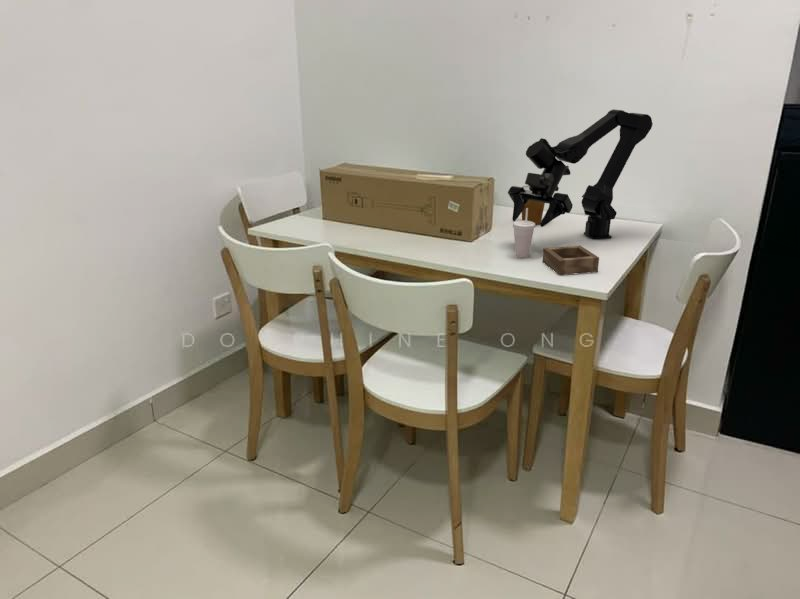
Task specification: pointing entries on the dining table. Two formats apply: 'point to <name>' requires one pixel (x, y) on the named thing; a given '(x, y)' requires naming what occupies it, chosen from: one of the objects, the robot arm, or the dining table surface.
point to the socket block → (570, 260)
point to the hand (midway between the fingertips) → (527, 223)
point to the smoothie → (523, 236)
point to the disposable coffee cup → (533, 209)
